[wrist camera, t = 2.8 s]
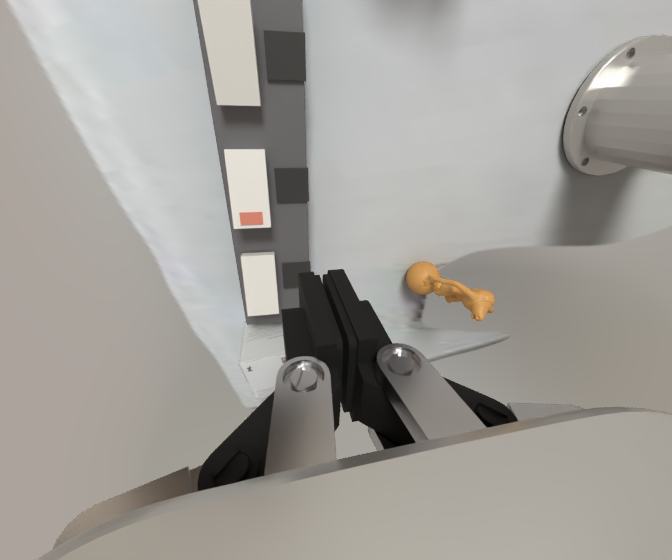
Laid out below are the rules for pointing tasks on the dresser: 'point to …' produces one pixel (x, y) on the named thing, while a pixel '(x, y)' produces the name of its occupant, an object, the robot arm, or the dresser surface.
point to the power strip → (272, 145)
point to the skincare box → (262, 356)
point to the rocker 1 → (231, 51)
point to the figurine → (449, 289)
